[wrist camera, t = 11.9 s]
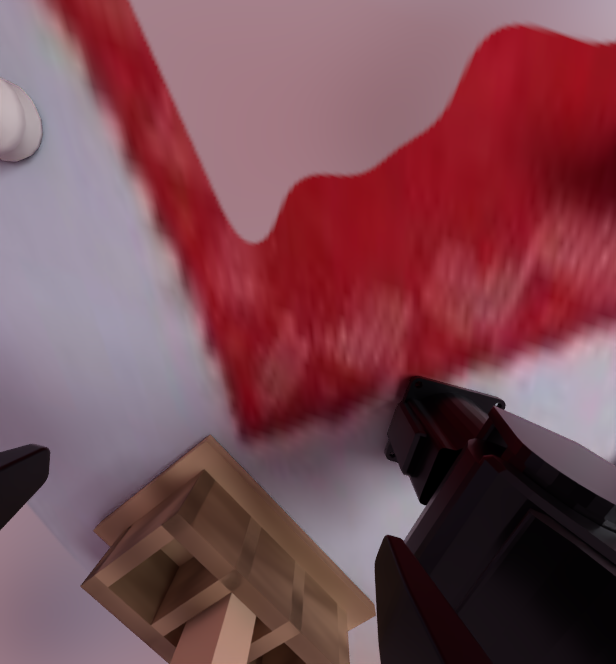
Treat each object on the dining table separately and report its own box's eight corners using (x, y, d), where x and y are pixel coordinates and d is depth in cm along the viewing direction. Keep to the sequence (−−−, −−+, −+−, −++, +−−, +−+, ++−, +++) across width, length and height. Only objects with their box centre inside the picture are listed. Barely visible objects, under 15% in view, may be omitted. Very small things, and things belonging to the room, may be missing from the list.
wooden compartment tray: (210, 434, 22) (178, 479, 17) (374, 604, 24) (386, 684, 20) (100, 522, 24) (46, 583, 19) (260, 669, 27) (246, 754, 22)
